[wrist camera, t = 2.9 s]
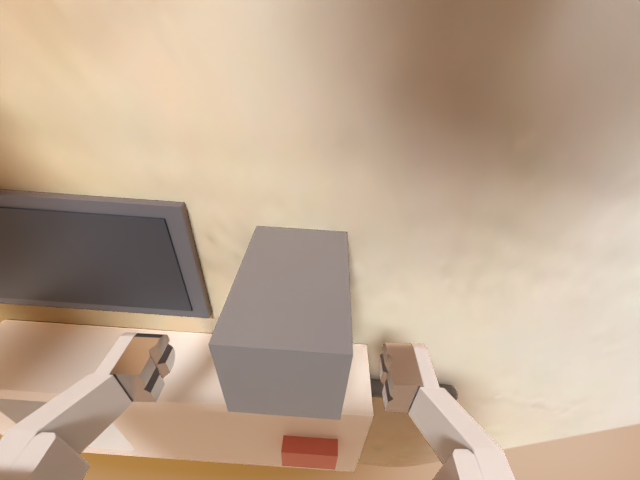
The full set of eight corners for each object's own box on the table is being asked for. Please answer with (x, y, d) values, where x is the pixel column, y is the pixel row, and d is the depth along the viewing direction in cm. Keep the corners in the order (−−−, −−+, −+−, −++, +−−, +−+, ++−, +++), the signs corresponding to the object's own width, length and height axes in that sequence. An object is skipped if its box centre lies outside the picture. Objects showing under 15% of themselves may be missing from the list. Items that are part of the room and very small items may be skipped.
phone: (190, 196, 13) (179, 208, 12) (215, 304, 17) (208, 319, 16) (-125, 174, 13) (-159, 184, 12) (-25, 287, 17) (-45, 301, 16)
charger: (347, 231, 13) (353, 354, 8) (339, 296, 15) (339, 420, 10) (256, 225, 13) (208, 344, 8) (262, 291, 15) (228, 412, 10)
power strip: (475, 352, 17) (515, 445, 14) (437, 413, 22) (459, 495, 18) (4, 319, 18) (-90, 400, 14) (65, 387, 22) (8, 462, 19)
